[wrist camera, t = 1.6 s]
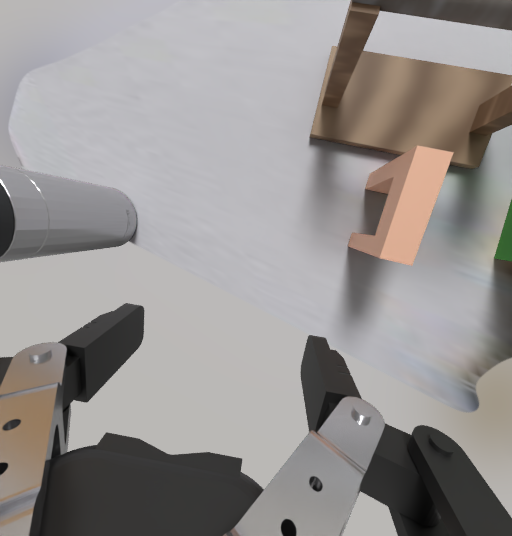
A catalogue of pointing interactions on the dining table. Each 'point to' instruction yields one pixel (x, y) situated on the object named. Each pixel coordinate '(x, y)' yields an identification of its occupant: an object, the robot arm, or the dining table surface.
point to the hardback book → (506, 239)
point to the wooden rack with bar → (413, 87)
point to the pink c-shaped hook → (404, 203)
